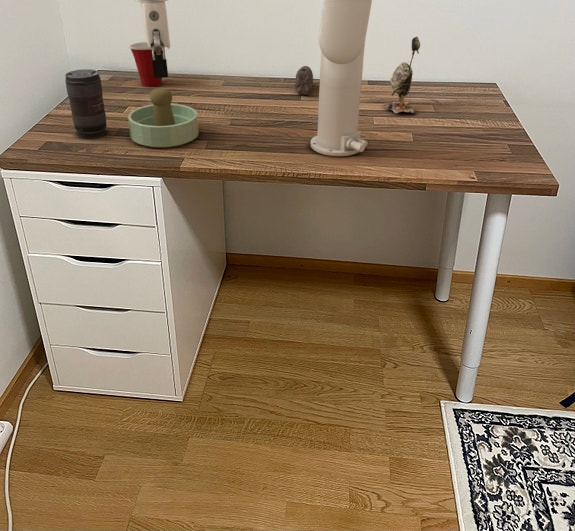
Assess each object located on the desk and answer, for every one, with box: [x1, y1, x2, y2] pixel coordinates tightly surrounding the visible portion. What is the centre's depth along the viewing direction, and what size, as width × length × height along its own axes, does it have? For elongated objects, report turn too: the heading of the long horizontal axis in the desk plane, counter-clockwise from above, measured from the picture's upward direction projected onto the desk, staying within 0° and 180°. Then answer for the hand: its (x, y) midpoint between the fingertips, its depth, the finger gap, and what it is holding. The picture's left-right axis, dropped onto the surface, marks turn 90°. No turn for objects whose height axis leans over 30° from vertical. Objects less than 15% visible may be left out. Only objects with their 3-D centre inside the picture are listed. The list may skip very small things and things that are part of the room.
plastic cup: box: [128, 41, 166, 88], centre depth 186 cm, size 11×11×12 cm
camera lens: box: [64, 68, 107, 140], centre depth 151 cm, size 8×8×15 cm
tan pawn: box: [149, 87, 175, 126], centre depth 151 cm, size 6×6×11 cm
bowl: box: [127, 103, 200, 148], centre depth 153 cm, size 17×17×6 cm
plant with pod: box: [383, 36, 421, 114], centre depth 168 cm, size 8×11×20 cm
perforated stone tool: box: [294, 65, 314, 96], centre depth 185 cm, size 15×5×7 cm, turn 174°
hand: (160, 71), depth 146 cm, fingers open, 9 cm apart
